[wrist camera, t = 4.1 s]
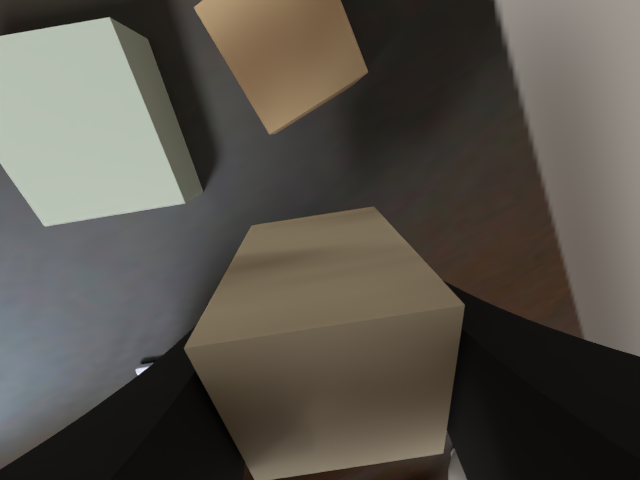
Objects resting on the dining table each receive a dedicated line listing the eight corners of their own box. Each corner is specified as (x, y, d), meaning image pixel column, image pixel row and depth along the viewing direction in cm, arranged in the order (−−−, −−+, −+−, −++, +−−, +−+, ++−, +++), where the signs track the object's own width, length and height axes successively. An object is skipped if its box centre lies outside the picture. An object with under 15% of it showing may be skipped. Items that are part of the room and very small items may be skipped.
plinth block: (205, 190, 16) (185, 203, 13) (88, 209, 16) (44, 226, 13) (151, 41, 13) (109, 17, 10) (3, 66, 13) (-80, 49, 10)
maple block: (378, 303, 12) (443, 453, 6) (278, 319, 12) (256, 481, 6) (373, 206, 10) (464, 305, 4) (251, 225, 10) (183, 348, 4)
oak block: (351, 86, 14) (368, 72, 10) (278, 133, 15) (269, 134, 11) (307, -18, 12) (308, -83, 8) (225, 42, 13) (193, 7, 9)
